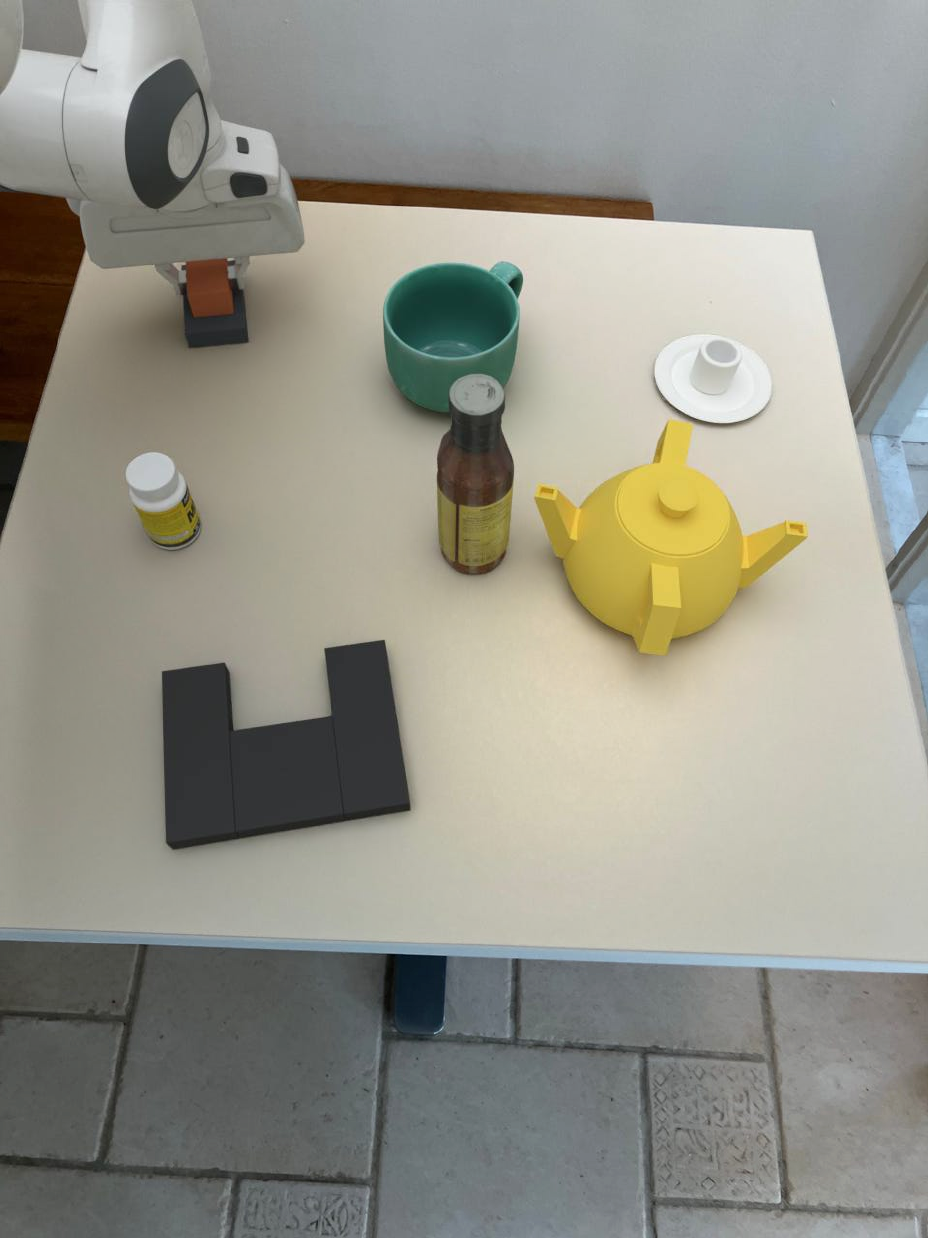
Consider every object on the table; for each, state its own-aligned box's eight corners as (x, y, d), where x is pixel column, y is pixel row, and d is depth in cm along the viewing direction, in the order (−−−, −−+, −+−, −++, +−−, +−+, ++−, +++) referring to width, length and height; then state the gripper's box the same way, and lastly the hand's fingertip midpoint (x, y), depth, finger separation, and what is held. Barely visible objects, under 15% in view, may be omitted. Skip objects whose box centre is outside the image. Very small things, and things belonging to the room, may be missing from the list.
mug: (449, 451, 85) (452, 381, 77) (360, 380, 89) (353, 306, 80) (562, 362, 91) (576, 288, 83) (473, 299, 95) (478, 223, 87)
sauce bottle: (519, 539, 81) (545, 385, 63) (485, 589, 78) (502, 443, 60) (457, 507, 82) (466, 348, 64) (421, 556, 79) (421, 404, 62)
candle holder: (774, 352, 93) (789, 321, 89) (764, 439, 87) (779, 409, 84) (661, 329, 94) (671, 296, 90) (644, 412, 88) (654, 382, 85)
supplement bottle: (207, 542, 79) (185, 485, 72) (154, 557, 78) (126, 501, 71) (194, 501, 81) (171, 441, 74) (143, 515, 80) (114, 456, 73)
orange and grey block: (189, 348, 90) (177, 309, 86) (185, 279, 95) (174, 240, 90) (248, 342, 91) (239, 304, 86) (242, 274, 95) (233, 235, 91)
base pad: (172, 850, 66) (165, 843, 64) (167, 681, 73) (161, 670, 71) (410, 810, 68) (410, 803, 67) (385, 649, 75) (384, 639, 73)
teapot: (655, 469, 85) (687, 380, 74) (778, 593, 79) (833, 516, 68) (516, 552, 80) (530, 470, 69) (637, 692, 74) (672, 625, 63)
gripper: (53, 195, 75) (105, 320, 87) (296, 176, 78) (313, 300, 90) (56, 148, 78) (105, 276, 90) (289, 131, 80) (307, 258, 93)
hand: (211, 288), depth 90 cm, fingers closed on orange and grey block, 4 cm apart
